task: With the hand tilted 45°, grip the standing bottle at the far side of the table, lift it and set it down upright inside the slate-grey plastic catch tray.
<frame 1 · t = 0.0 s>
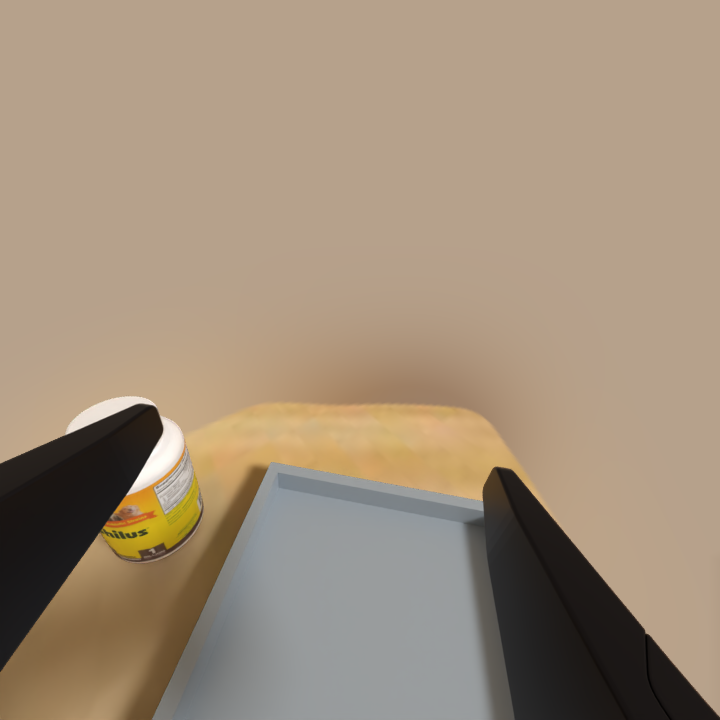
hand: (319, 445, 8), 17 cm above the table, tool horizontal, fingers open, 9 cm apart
catch tray: (366, 644, 18), on the table
supplement bottle: (162, 526, 22), on the table
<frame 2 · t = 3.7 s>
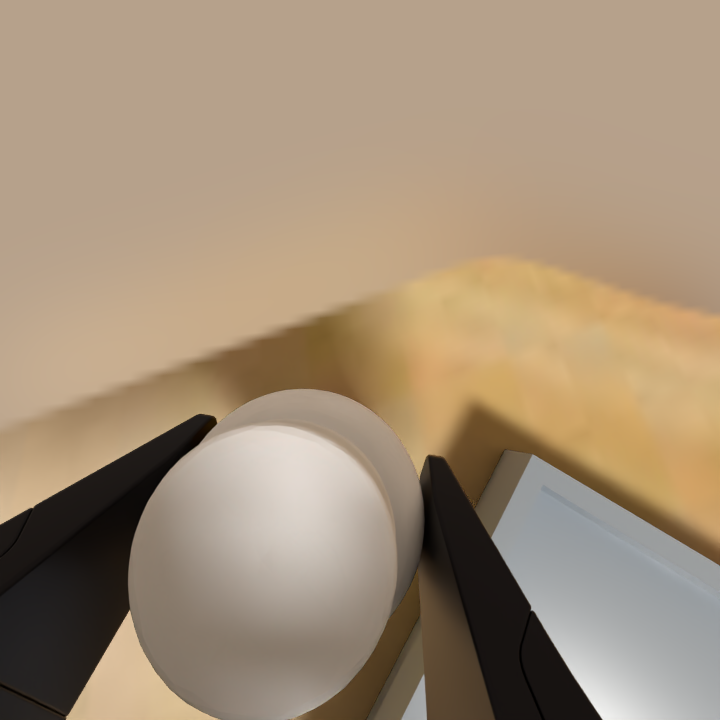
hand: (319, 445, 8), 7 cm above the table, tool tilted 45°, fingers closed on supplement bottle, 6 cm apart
supplement bottle: (335, 466, 15), on the table, touching gripper
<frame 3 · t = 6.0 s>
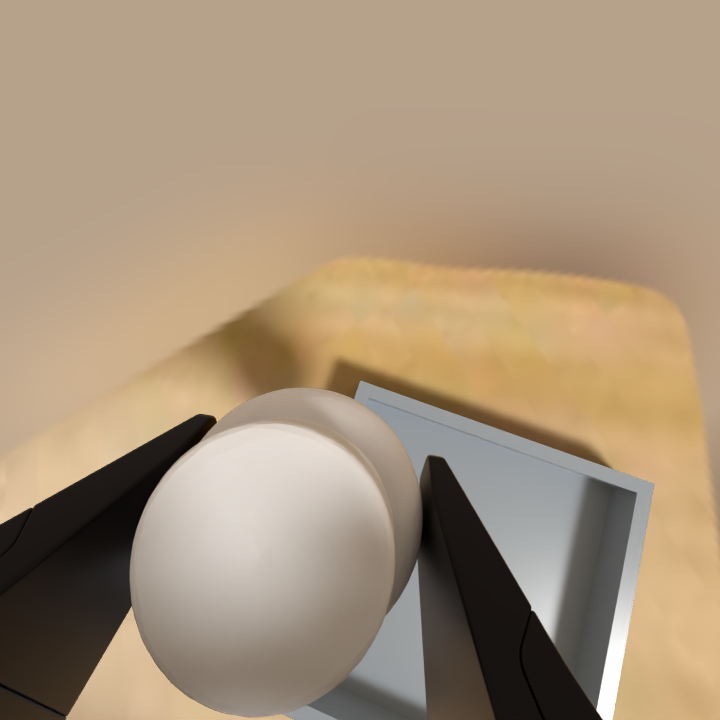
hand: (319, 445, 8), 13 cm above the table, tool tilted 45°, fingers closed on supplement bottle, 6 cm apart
catch tray: (447, 565, 19), on the table
supplement bottle: (335, 465, 15), point 6 cm above the table, touching gripper
when the fingers open (8 cm above the table, at t = 8.6 s): supplement bottle drops 1 cm, resting on catch tray.
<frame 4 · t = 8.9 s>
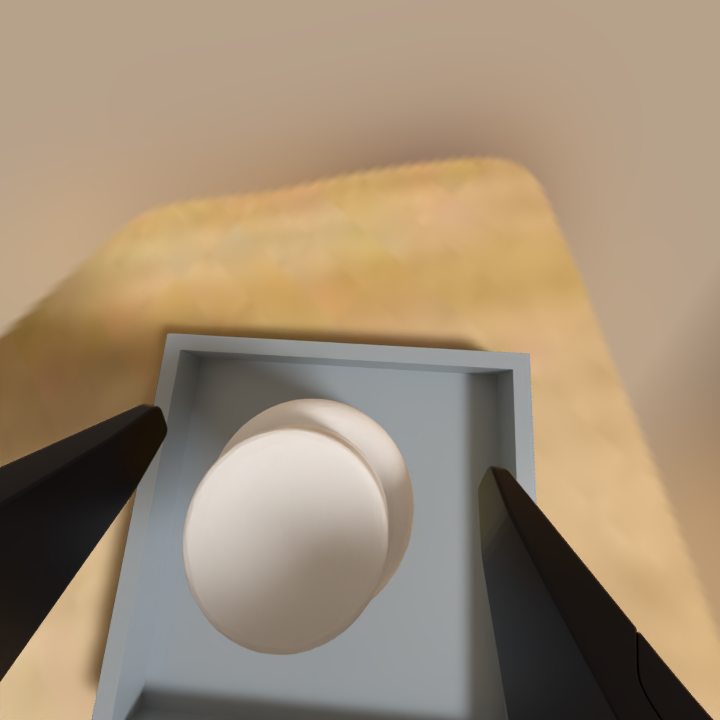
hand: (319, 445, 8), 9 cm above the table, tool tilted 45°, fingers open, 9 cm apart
catch tray: (335, 524, 16), on the table
supplement bottle: (338, 466, 16), resting on catch tray
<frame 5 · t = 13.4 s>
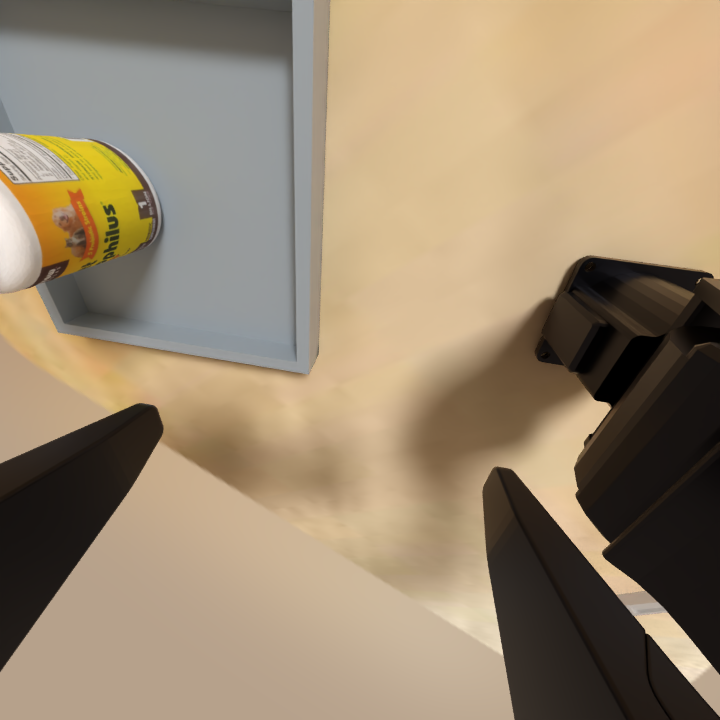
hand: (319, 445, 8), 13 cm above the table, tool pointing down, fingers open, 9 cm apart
catch tray: (174, 202, 18), on the table
supplement bottle: (122, 197, 18), resting on catch tray
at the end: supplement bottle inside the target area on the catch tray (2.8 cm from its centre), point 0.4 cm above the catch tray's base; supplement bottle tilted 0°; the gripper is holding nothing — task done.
